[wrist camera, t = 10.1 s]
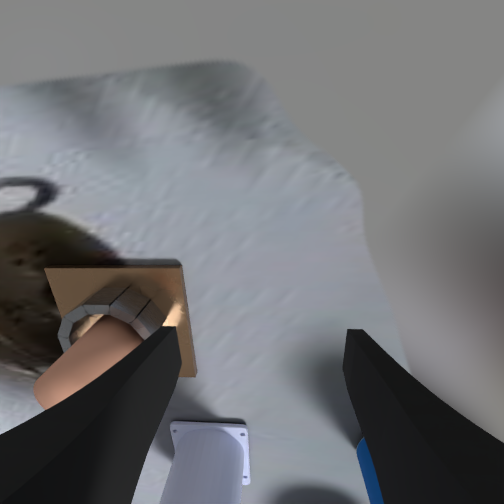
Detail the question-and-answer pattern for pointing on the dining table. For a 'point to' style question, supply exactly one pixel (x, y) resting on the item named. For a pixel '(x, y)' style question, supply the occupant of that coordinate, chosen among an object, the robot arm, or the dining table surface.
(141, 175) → the dining table surface
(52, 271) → the cup bracket
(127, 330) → the rail post
